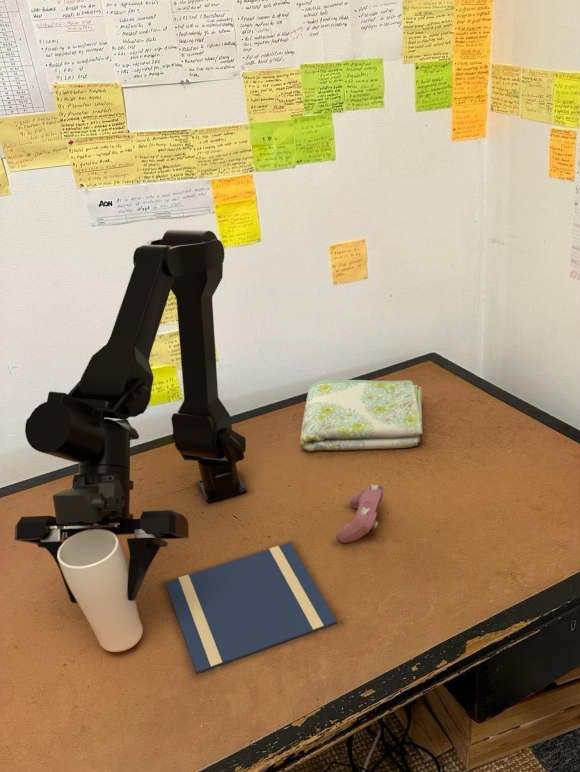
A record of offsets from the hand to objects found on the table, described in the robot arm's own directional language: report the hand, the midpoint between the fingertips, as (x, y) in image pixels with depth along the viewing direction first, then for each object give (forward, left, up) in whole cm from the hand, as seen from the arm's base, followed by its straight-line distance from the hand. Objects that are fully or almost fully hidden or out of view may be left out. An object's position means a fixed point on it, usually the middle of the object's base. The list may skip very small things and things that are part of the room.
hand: (102, 601), depth 87 cm
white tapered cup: (-1, 0, -8) cm, 8 cm away
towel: (-36, +48, -9) cm, 61 cm away
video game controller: (-9, +36, -9) cm, 39 cm away
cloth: (-1, +16, -9) cm, 19 cm away
